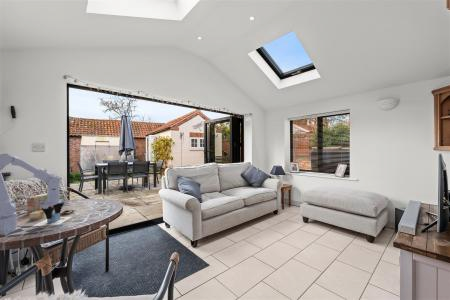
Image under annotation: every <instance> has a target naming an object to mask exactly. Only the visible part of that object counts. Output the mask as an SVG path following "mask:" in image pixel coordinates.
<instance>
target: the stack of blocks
mask: <svg viewBox="0 0 450 300" xmlns="http://www.w3.org/2000/svg"><path fill="white" fill-rule="evenodd" d="M59 199H63V200H64V194H59ZM26 200H27V202H26V207H27V213H26V214H27V215H30V213H32V212H35V211H43V210H42V208H43V206H44V205H45V204H47V193H41V194H37V195H33V196H28V197H27V198H26ZM61 203H64V201H63V202H61ZM51 208H54V206H51Z"/></svg>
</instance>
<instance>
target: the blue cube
mask: <svg viewBox="0 0 450 300" xmlns="http://www.w3.org/2000/svg"><path fill="white" fill-rule="evenodd" d="M60 217H61V212H60V213H55V212H53V213H52V218H51V219H47V218H46V219H47V223H49V222H56V221H58V220H60Z"/></svg>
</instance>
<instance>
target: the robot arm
mask: <svg viewBox="0 0 450 300" xmlns="http://www.w3.org/2000/svg"><path fill="white" fill-rule="evenodd" d="M9 164H10V165H11V166H18V167H20V168H22V169H23V170H26V171H28V172H30V173H32V174H33V177H34V178H35V179H37V180H40V181H42V182H43V183H46V184H47V190H46V191H47V204H45V205H44V206H43V208H42V210H43V211H44V213H45V217H46V219H51V218H52V213H60V214H61V212H62V208H63V206H64V205H65V202H64V198H63V199H59V195H60V183H61V180H60V179H59V177H57V176H56V175H55V174H53V173H50V172H49V171H48V170H47V169H46V168H37V167H35V166H33V165H31V164H30V163H29V162H27V161H25V160H23V159H21V158H19V157H17V156H14V155H13V154H11V153H7V152H5V153H0V235H8V234H10V233H12V232H14V231H16V230H17V231H18V230H19V229H21V228H22V227H21V226H18V213H17V212H16V209H17V204H16V203H14V202H13V200H12V198H11V196H10V194H9V190H8V188H7V186H6V185H7V184H6V183H5V179H4V177H3V174H2V170H3V169H4V168H5V167H6V166H8V165H9ZM61 202H63V203H61ZM51 206H54V208H51Z"/></svg>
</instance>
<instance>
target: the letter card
mask: <svg viewBox="0 0 450 300" xmlns="http://www.w3.org/2000/svg"><path fill="white" fill-rule="evenodd" d="M71 218H72V216H60V220H58V221H56V222H49V223H47V218H46V219H44V220H41V221H40V222H38V223H35V224H34V225H33V227H42V226H45V227H46V226H55V225H57V226H58V225H61V224H63V223H64V222H66V221H68V220H69V219H71Z"/></svg>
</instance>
